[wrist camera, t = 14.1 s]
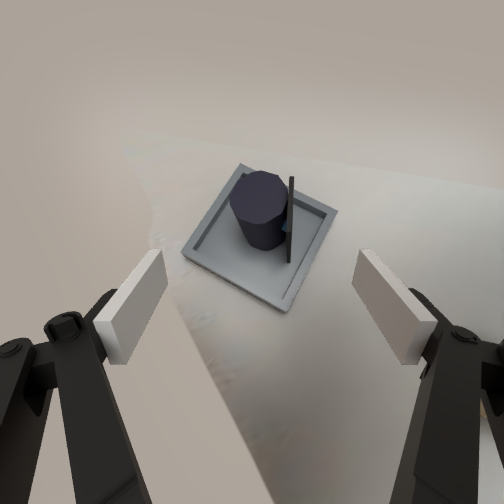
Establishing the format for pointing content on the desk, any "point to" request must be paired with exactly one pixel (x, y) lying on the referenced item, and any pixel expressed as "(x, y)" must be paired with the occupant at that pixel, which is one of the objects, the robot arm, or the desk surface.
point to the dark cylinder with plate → (264, 210)
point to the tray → (253, 259)
